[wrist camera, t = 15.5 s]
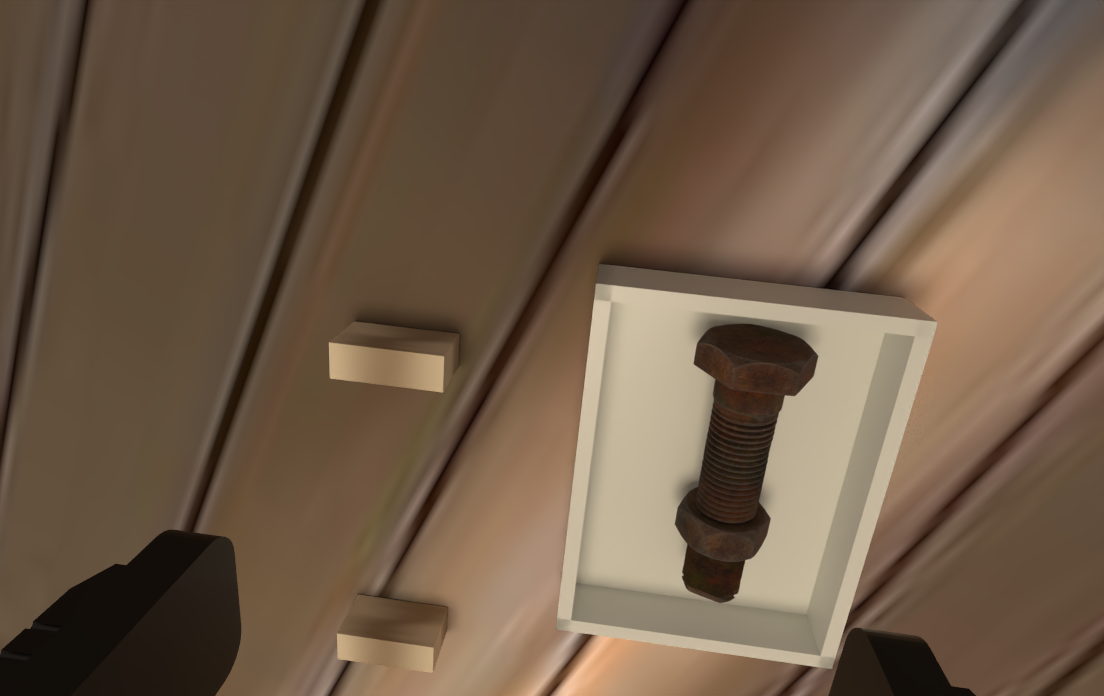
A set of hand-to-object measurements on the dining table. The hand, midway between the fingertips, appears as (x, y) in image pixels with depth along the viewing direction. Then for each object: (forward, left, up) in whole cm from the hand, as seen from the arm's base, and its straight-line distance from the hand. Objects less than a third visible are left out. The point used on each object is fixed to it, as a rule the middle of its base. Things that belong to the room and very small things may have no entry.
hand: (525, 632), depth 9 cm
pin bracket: (+10, +17, -28) cm, 34 cm away
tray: (-8, +12, -28) cm, 32 cm away
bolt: (-8, +11, -28) cm, 31 cm away
